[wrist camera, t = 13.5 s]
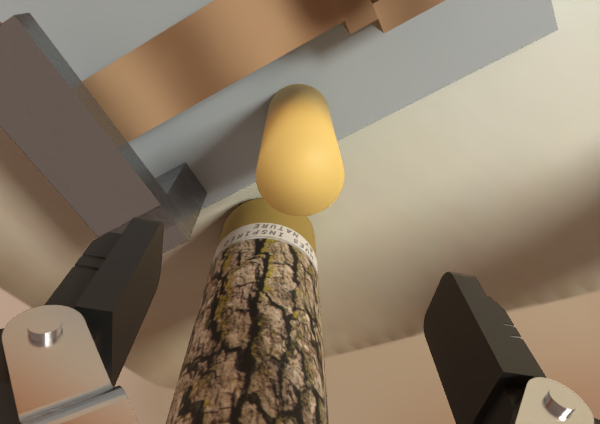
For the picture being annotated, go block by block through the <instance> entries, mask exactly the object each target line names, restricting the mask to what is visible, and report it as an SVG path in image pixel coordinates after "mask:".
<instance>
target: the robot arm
mask: <svg viewBox="0 0 600 424" xmlns="http://www.w3.org/2000/svg"><path fill="white" fill-rule="evenodd" d="M163 235H164V223H163V222H161V221H155V220H149V219H144V218H138V217H134V218H133V219H132V220H131V221H130V223H129V224H128V226H127V227H126V229H125V230H124V232H123V233H122V234H119V233H113V232H108V233H106V234H105V235H103V236H101V237H99V238H98V239H96V240H94V241H93V242H92V243H91V244H90V245H89V247H88V248H87V249H86V251H85V252H84V253H83V257H80V259H79V260H78V261H77V263H76V264H75V267H73V268H72V269H71V271H70V272H69V273H68V275H67V276H66V277H65V279H64V280H63V281H62V283H61V284H60V285H59V287H58V288H57V289H56V290H55V292H54V293H53V294H52V296H51V297H50V298H49V300H48V301H47V302H46V304H45V305H44V306H39V307H35V308H32V309H29V310H26V311H24V312H22V313H21V314H19V315H17V316H16V317H14V318H13V319H12V320H11V321H10V322H9V323H8V324H7V325H6V327H5V328H4V329H0V424H139V422H138V420H137V418H136V415H135V413H134V411H133V409H132V406H131V404H130V402H129V399H128V397H127V395H126V393H125V391H124V390H123V388H122V387H121V386H117V387H114V386H115V384H116V381H117V379H118V377H119V374H120V372H121V370H122V368H123V365H124V363H125V361H126V359H127V356H128V354H129V352H130V349H131V347H132V345H133V343H134V340H135V338H136V336H137V333H138V331H139V329H140V327H141V324H142V322H143V320H144V318H145V315H146V313H147V311H148V308H149V306H150V304H151V302H152V299H153V297H154V295H155V292H156V290H157V286H158V283H159V278H160V273H161V262H162V248H163ZM513 326H514V324H513V323H512V321H511V319H510V318H509V316H508V315H507V313H506V311H505V310H504V309H503V308H502V307H501V306H500V305H499V304H497V303H496V302H495V301H494V300H493V299H492V298H491V297H488V296H487V295H486V294H485V292H484V290H483V288H482V287H481V285H480V283H479V282H478V280H477V279H476V278H475V277H474V276H469V275H463V274H458V273H452V272H446V273H445V274H444V275H443V277H442V278H441V280H440V283H439V285H438V287H437V289H436V292H435V294H434V296H433V298H432V301H431V303H430V305H429V307H428V310H427V312H426V315H425V319H424V334H425V337H426V340H427V343H428V346H429V348H430V352H431V354H432V357H433V360H434V363H435V365H436V368H437V371H438V374H439V377H440V380H441V382H442V385H443V388H444V391H445V394H446V396H447V399H448V402H449V405H450V408H451V410H452V413H453V416H454V419H455V422H456V424H600V420H598V419H596V418H593V415H592V413H591V411H590V409H589V408H588V406H587V405H586V404H585V402H584V401H583V400H582V399H581V398H580V397H579V396H578V395H577V394H576V393H574V392H573V391H572V390H570V389H569V388H568V387H566V386H564V385H562V384H560V383H559V382H557V381H554V380H551V379H548V378H546V376H545V374H544V373H543V371H542V369H541V368H540V366H539V365H538V363H537V361H536V360H535V358H534V357H533V355H532V353H531V352H530V350H529V348H528V347H527V345H526V344H525V342H524V341H523V340H522V339H521V336H520V334H519V332H518V331H517V329H516V328H515V327H513Z"/></svg>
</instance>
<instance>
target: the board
mask: <svg viewBox="0 0 600 424" xmlns="http://www.w3.org/2000/svg"><path fill="white" fill-rule="evenodd" d="M212 1H214V0H0V22H1V23H3V22H5V21H6V20H8V19H9V18H10V17H12V16H13V15H17V14H24V13H30V14H31V15H32V16H33V18H34V19H35V20H36V22H37V23H38V24H39V26H40V27H41V28H42V30H43V31H44V32H45V34H46V35H47V36H48V38H49V39H50V40H51V41H52V43H53V44H54V45H55V47H56V48H57V49H58V51H59V52H60V53H61V55H62V56H63V57H64V59H65V60H66V61H67V63H68V64H69V65H70V67H71V68H72V69H73V71H74V72H75V73H76V75H77V76H78V77H79V79H80V80H81V81H84V80H85V79H87V78H89V77H90V76H92V75H93V74H95V73H97V72H98V71H100V70H102V69H103V68H105V67H106V66H108V65H110V64H111V63H113V62H115V61H116V60H118V59H119V58H121V57H123V56H124V55H126V54H128V53H129V52H131V51H132V50H134V49H136V48H137V47H139V46H141V45H142V44H144V43H145V42H147V41H149V40H150V39H152V38H154V37H155V36H157V35H158V34H160V33H162V32H163V31H165V30H167V29H168V28H170V27H171V26H173V25H175V24H176V23H178V22H180V21H181V20H183V19H185V18H186V17H188V16H189V15H191V14H193V13H194V12H196V11H198V10H199V9H201V8H202V7H204V6H206V5H207V4H209V3H211V2H212ZM556 30H558V28H557V23H556V19H555V15H554V11H553V6H552V2H551V0H445V1H443V2H441V3H440V4H438V5H436V6H434V7H432V8H430V9H429V10H427V11H425V12H423V13H421V14H419V15H417V16H416V17H414V18H412V19H410V20H408V21H406V22H405V23H403V24H401V25H399V26H397V27H395V28H393V29H392V30H390V31H388V32H386V33H383V32H381V31H380V30H379V29H377V28H376V27H374V26H373V25H372V23H370V24H368V25H367V26H365V27H363V28H361V29H359V30H357V31H356V32H354V33H352V34H350V33H349V32H348V31H347V30H346V29H345V28H344V26H343V24H342V23H340V24H338V25H336V26H335V27H333V28H331V29H329V30H327V31H326V32H324V33H322V34H320V35H318V36H317V37H315V38H313V39H311V40H310V41H308V42H306V43H304V44H302V45H301V46H299V47H297V48H295V49H294V50H292V51H290V52H288V53H286V54H285V55H283V56H281V57H279V58H277V59H276V60H274V61H272V62H270V63H269V64H267V65H265V66H263V67H261V68H260V69H258V70H256V71H254V72H252V73H251V74H249V75H247V76H245V77H244V78H242V79H240V80H238V81H236V82H235V83H233V84H231V85H229V86H228V87H226V88H224V89H222V90H220V91H219V92H217V93H215V94H213V95H211V96H210V97H208V98H206V99H204V100H203V101H201V102H199V103H197V104H195V105H194V106H192V107H190V108H188V109H186V110H185V111H183V112H181V113H179V114H178V115H176V116H174V117H172V118H170V119H169V120H167V121H165V122H163V123H161V124H160V125H158V126H156V127H154V128H153V129H151V130H149V131H147V132H145V133H144V134H142V135H140V136H138V137H137V138H135V139H133V140H131V141H129V142H128V143H129V145H130V146H131V147H132V149H133V150H134V151H135V153H136V154H137V155H138V157H139V158H140V159H141V161H142V162H143V163H144V164H145V166H146V167H147V168H148V170H149V171H150V172H151V174H152V175H153V176H154V178H157V177H159V176H160V175H162V174H164V173H166V172H168V171H170V170H172V169H173V168H175V167H177V166H179V165H181V164H183V163H185V162H186V163H187V165H188V166H189V167H190V169H191V170H192V172H193V173H194V175H195V176H196V177H197V179H198V180H199V182H200V183H201V184H202V186H203V187H204V189H205V190H206V192H207V195H206V198H205V200H204V203H203V205H202V208H201V209H203V208H205V207H207V206H209V205H211V204H213V203H215V202H217V201H219V200H221V199H223V198H225V197H227V196H229V195H231V194H233V193H235V192H237V191H239V190H241V189H243V188H245V187H247V186H249V185H251V184H253V183H255V182H256V169H257V164H258V158H259V153H260V148H261V143H262V138H263V133H264V128H265V122H266V117H267V112H268V107H269V104H270V101H271V99H272V98H273V96H274V95H275V94H276V93H277V92H278V91H279V90H280V89H282V88H284V87H286V86H288V85H292V84H305V85H309V86H311V87H313V88H315V89H316V90H318V91H319V92H320V93H321V94H322V95H323V96H324V98H325V100H326V102H327V104H328V108H329V112H330V116H331V120H332V123H333V127H334V131H335V135H336V139H337V141H338V140H340V139H342V138H344V137H346V136H348V135H350V134H352V133H354V132H356V131H358V130H360V129H362V128H364V127H366V126H368V125H370V124H372V123H374V122H376V121H378V120H380V119H382V118H384V117H386V116H388V115H390V114H392V113H394V112H396V111H398V110H400V109H402V108H404V107H405V106H407V105H409V104H411V103H413V102H415V101H417V100H419V99H421V98H423V97H425V96H427V95H429V94H431V93H433V92H435V91H437V90H439V89H441V88H443V87H445V86H447V85H449V84H451V83H453V82H455V81H457V80H459V79H461V78H463V77H465V76H467V75H469V74H471V73H473V72H475V71H477V70H479V69H481V68H483V67H485V66H487V65H489V64H491V63H493V62H495V61H497V60H499V59H501V58H503V57H505V56H507V55H509V54H511V53H513V52H515V51H517V50H519V49H521V48H523V47H525V46H527V45H529V44H531V43H533V42H535V41H537V40H539V39H541V38H543V37H545V36H546V35H548V34H550V33H552V32H554V31H556Z"/></svg>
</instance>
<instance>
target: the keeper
mask: <svg viewBox="0 0 600 424" xmlns="http://www.w3.org/2000/svg"><path fill="white" fill-rule="evenodd" d="M0 126H1V127H2V129H3V130H4V131H5V132H6V133H7V134H8V135H9V136H10V138H11V139H12V140H13V141H14V142H15V143H16V144H17V146H18V147H19V148H20V149H21V150H22V151H23V152H24V153H25V155H26V156H27V157H28V158H29V159H30V160H31V161H32V162H33V164H34V165H35V166H36V167H37V168H38V169H39V170H40V172H41V173H42V174H43V175H44V176H45V177H46V178H47V179H48V181H49V182H50V183H51V184H52V185H53V186H54V187H55V188H56V190H57V191H58V192H59V193H60V194H61V195H62V196H63V198H64V199H65V200H66V201H67V202H68V203H69V204H70V205H71V207H72V208H73V209H74V210H75V211H76V212H77V213H78V214H79V216H80V217H81V218H82V219H83V220H84V221H85V222H86V224H87V225H88V226H89V227H90V228H91V229H92V230H93V231H94V233H95V234H96V235H97V236H98V237H101V236H103V235H105V234H106V233H108V232H113V233H119V234H122V233H123V232H124V230H125V229H126V227H127V226H128V224H129V223H130V221H131V220H132V219H133V218H134V217H138V218H144V219H149V220H155V221H161V222H163V223H164V235H163V248H162V253H164V252H166V251H168V250H170V249H172V248H174V247H176V246H178V245H180V244H182V243H184V242H186V241H188V240H189V238H190V235H191V233H192V230H193V228H194V225H195V223H196V220H197V218H198V215H199V213H200V210H201V208H202V205H203V203H204V200H205V198H206V195H207V192H206V190H205V189H204V187H203V186H202V184H201V183H200V182H199V180H198V179H197V177H196V176H195V175H194V173H193V172H192V170H191V169H190V167H189V166H188V165H187V163H186V162H185V163H183V164H181V165H179V166H177V167H175V168H173V169H172V170H170V171H168V172H166V173H164V174H162V175H160V176H159V177H157V178H154V176H153V175H152V174H151V172H150V171H149V170H148V168H147V167H146V166H145V164H144V163H143V162H142V161H141V159H140V158H139V157H138V155H137V154H136V153H135V151H134V150H133V149H132V147H131V146H130V145H129V143H128V142H127V141H126V139H125V138H124V137H123V135H122V134H121V133H120V131H119V130H118V129H117V127H116V126H115V125H114V123H113V122H112V121H111V120H110V118H109V117H108V116H107V114H106V113H105V112H104V110H103V109H102V108H101V106H100V105H99V104H98V102H97V101H96V100H95V98H94V97H93V96H92V94H91V93H90V92H89V90H88V89H87V88H86V86H85V85H84V84H83V82H82V81H81V80H80V79H79V77H78V76H77V75H76V73H75V72H74V71H73V69H72V68H71V67H70V65H69V64H68V63H67V61H66V60H65V59H64V57H63V56H62V55H61V53H60V52H59V51H58V49H57V48H56V47H55V45H54V44H53V43H52V41H51V40H50V39H49V38H48V36H47V35H46V34H45V32H44V31H43V30H42V28H41V27H40V26H39V24H38V23H37V22H36V20H35V19H34V18H33V16H32V15H31V14H30V13H24V14H17V15H13V16H12V17H10V18H9V19H8V20H6V21H5V22H3V23H2V24H0Z"/></svg>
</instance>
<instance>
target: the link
mask: <svg viewBox="0 0 600 424" xmlns="http://www.w3.org/2000/svg"><path fill="white" fill-rule="evenodd" d="M443 1H445V0H214V1H212V2H211V3H209V4H207V5H206V6H204V7H202V8H201V9H199V10H198V11H196V12H194V13H193V14H191V15H189V16H188V17H186V18H185V19H183V20H181V21H180V22H178V23H176V24H175V25H173V26H171V27H170V28H168V29H167V30H165V31H163V32H162V33H160V34H158V35H157V36H155V37H154V38H152V39H150V40H149V41H147V42H145V43H144V44H142V45H141V46H139V47H137V48H136V49H134V50H132V51H131V52H129V53H128V54H126V55H124V56H123V57H121V58H119V59H118V60H116V61H115V62H113V63H111V64H110V65H108V66H106V67H105V68H103V69H102V70H100V71H98V72H97V73H95V74H93V75H92V76H90V77H89V78H87V79H85V80H84V81H82V82H83V84H84V85H85V86H86V88H87V89H88V90H89V92H90V93H91V94H92V96H93V97H94V98H95V100H96V101H97V102H98V104H99V105H100V106H101V108H102V109H103V110H104V112H105V113H106V114H107V116H108V117H109V118H110V120H111V121H112V122H113V123H114V125H115V126H116V127H117V129H118V130H119V131H120V133H121V134H122V135H123V137H124V138H125V139H126V141H127V142H129V141H131V140H133V139H135V138H137V137H138V136H140V135H142V134H144V133H145V132H147V131H149V130H151V129H153V128H154V127H156V126H158V125H160V124H161V123H163V122H165V121H167V120H169V119H170V118H172V117H174V116H176V115H178V114H179V113H181V112H183V111H185V110H186V109H188V108H190V107H192V106H194V105H195V104H197V103H199V102H201V101H203V100H204V99H206V98H208V97H210V96H211V95H213V94H215V93H217V92H219V91H220V90H222V89H224V88H226V87H228V86H229V85H231V84H233V83H235V82H236V81H238V80H240V79H242V78H244V77H245V76H247V75H249V74H251V73H252V72H254V71H256V70H258V69H260V68H261V67H263V66H265V65H267V64H269V63H270V62H272V61H274V60H276V59H277V58H279V57H281V56H283V55H285V54H286V53H288V52H290V51H292V50H294V49H295V48H297V47H299V46H301V45H302V44H304V43H306V42H308V41H310V40H311V39H313V38H315V37H317V36H318V35H320V34H322V33H324V32H326V31H327V30H329V29H331V28H333V27H335V26H336V25H338V24H340V23H342V24H343V26H344V28H345V29H346V30H347V31H348V32H349V33H350V34H352V33H354V32H356V31H357V30H359V29H361V28H363V27H365V26H367V25H368V24H370V23H372V25H373V26H374V27H376V28H377V29H379V30H380V31H381V32H383V33H386V32H388V31H390V30H392V29H393V28H395V27H397V26H399V25H401V24H403V23H405V22H406V21H408V20H410V19H412V18H414V17H416V16H417V15H419V14H421V13H423V12H425V11H427V10H429V9H430V8H432V7H434V6H436V5H438V4H440V3H441V2H443Z"/></svg>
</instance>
